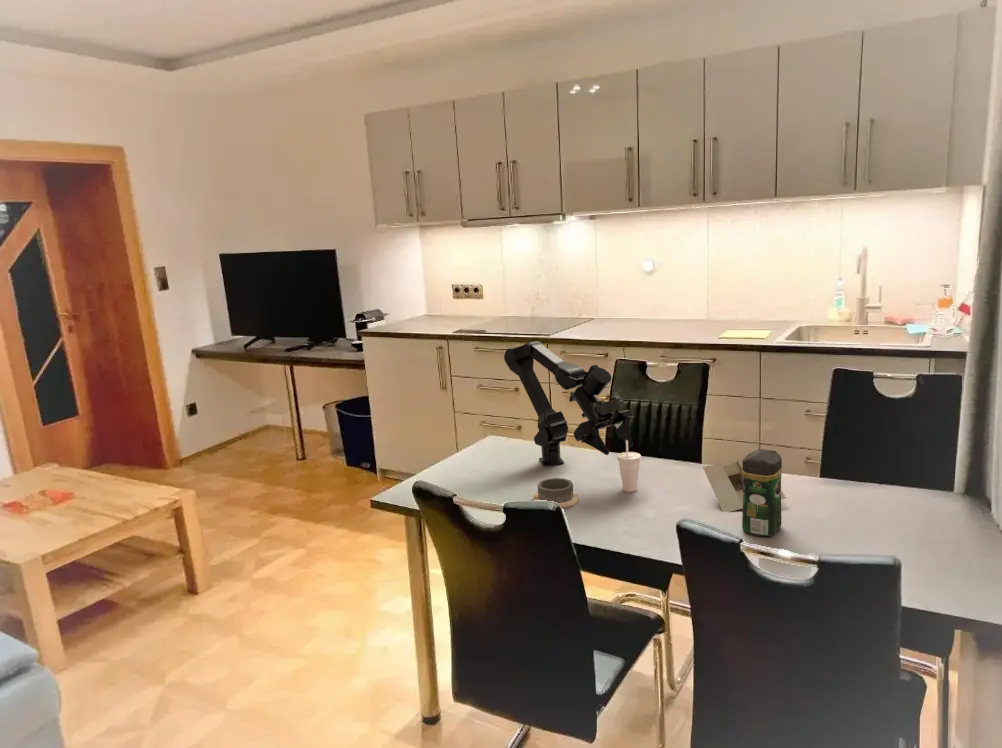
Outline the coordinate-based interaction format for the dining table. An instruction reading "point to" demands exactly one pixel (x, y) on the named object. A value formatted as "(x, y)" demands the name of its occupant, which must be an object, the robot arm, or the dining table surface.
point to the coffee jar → (762, 492)
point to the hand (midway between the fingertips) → (620, 450)
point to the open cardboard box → (728, 485)
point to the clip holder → (557, 492)
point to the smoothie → (629, 469)
